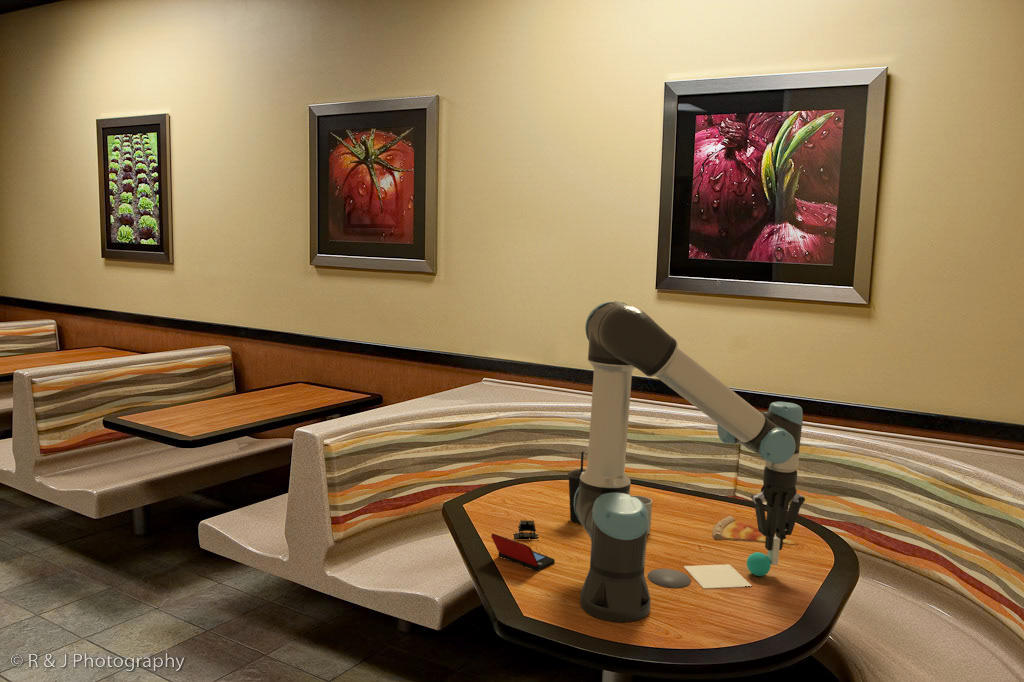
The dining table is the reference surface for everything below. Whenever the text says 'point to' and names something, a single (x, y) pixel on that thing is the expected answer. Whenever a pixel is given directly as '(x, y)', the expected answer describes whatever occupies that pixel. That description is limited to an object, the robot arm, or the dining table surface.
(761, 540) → the pizza slice
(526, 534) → the black boxy piece
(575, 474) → the drinking cup
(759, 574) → the ball
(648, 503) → the cup
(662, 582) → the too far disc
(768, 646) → the dining table surface
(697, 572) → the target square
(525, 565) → the handheld game console
